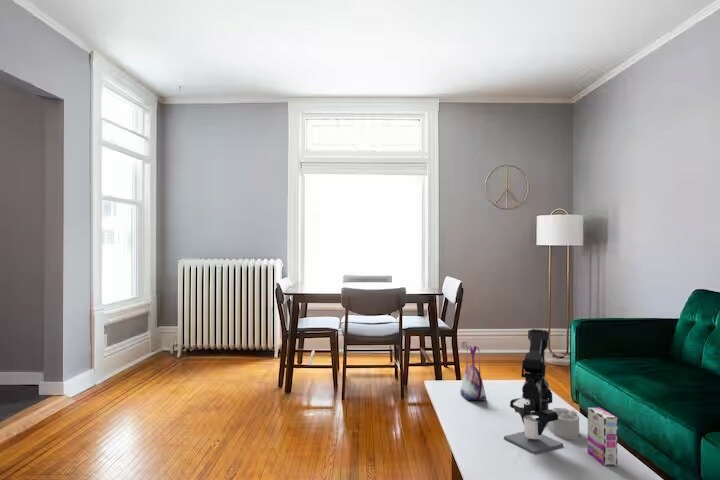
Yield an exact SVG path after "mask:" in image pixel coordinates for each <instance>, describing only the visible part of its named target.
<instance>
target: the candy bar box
mask: <svg viewBox="0 0 720 480" xmlns="http://www.w3.org/2000/svg"><path fill="white" fill-rule="evenodd" d="M618 423H619V418H618V417H617V416H616V415H613V414H612V413H610V412H608V411H606V410H605V409H604V408H601V407H598V406H597V407H587V443H586V445H587V450H586V451H587V454H589V455H590V456H592V457H593V458H594V459H595V460H596V461H597V462H599V463H600V464H602V465H603V466H605V467H609V466H608V465H617V466H618V437H619V436H618V435H619V434H618V431H619V430H618V428H619V427H618V425H619V424H618Z"/></svg>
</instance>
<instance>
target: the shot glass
mask: <svg viewBox="0 0 720 480" xmlns="http://www.w3.org/2000/svg"><path fill="white" fill-rule="evenodd" d="M535 418H539V416H536V415H532V414H531V415H525V416H524V424H523V426H524V431H525V436H526V437H528V438H530V439H540V438H541V435H538V422H537V420H536V419H535Z"/></svg>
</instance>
